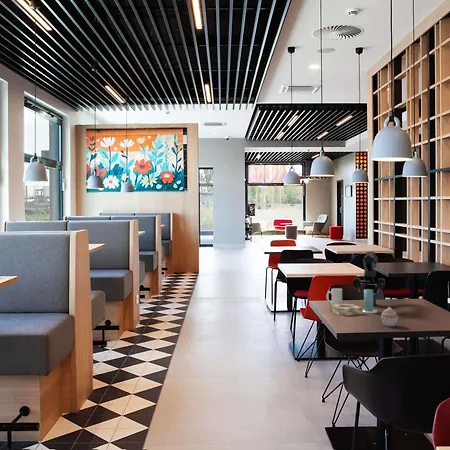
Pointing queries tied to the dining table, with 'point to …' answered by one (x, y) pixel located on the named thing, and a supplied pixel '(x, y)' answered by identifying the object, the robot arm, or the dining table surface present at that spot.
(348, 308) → the pocket collar
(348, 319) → the dining table surface
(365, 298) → the dowel
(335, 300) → the mug
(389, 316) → the cupcake
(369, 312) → the pad
